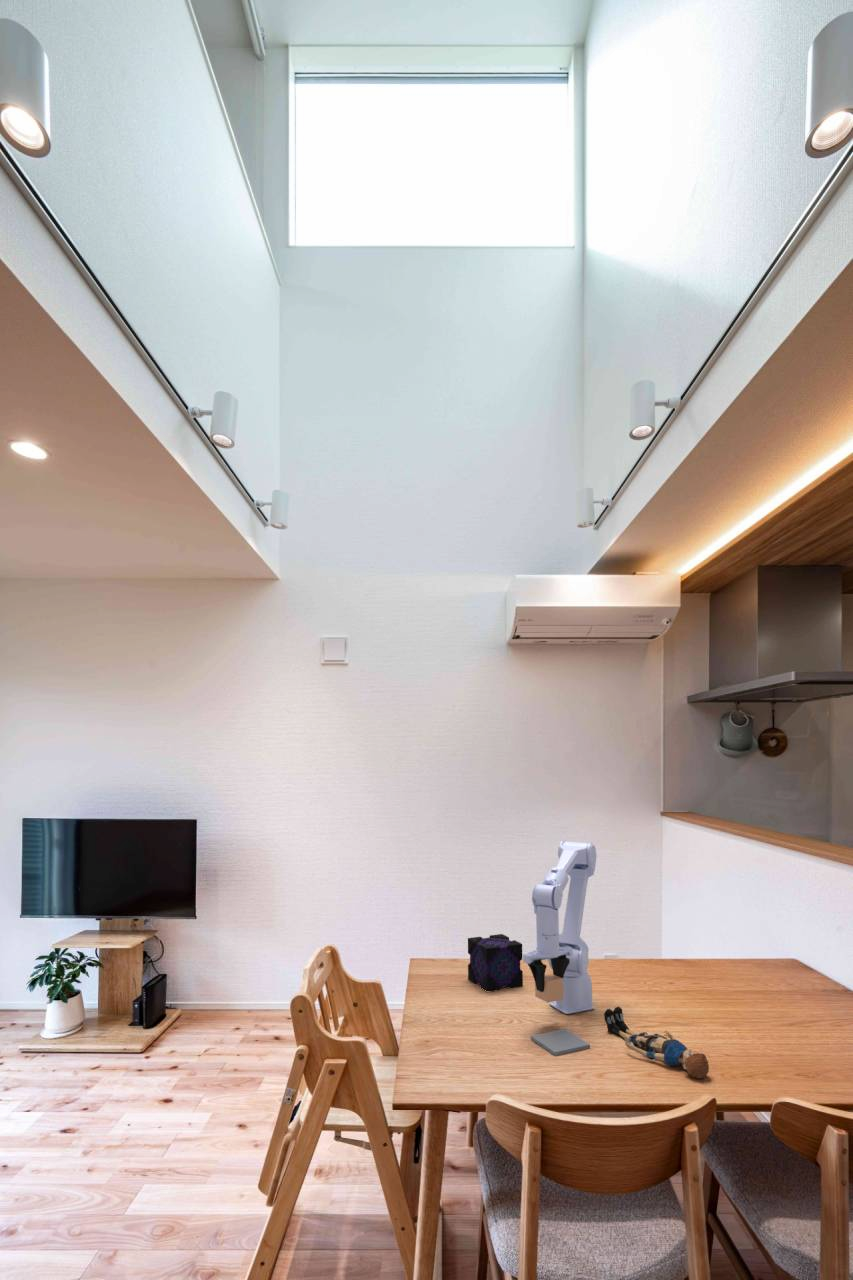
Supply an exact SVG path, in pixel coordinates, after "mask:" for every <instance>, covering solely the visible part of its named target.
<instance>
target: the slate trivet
mask: <svg viewBox="0 0 853 1280" xmlns="http://www.w3.org/2000/svg"><path fill="white" fill-rule="evenodd" d="M530 1040H531V1041H532V1042H534V1043H535V1044H536V1045H538V1046H540V1047H541V1048H543V1049H544V1050H546V1051H547V1052H548V1053H550V1054H551V1055H553V1056H555V1057H557V1056H560V1055H565V1054H570V1053H575V1052H579V1051H582V1050H583V1051H585V1050H588V1049H591V1044H590V1043H589V1042H587V1041H585V1040H583V1039H582V1038H580V1037H578V1036H577V1035H576V1034H574V1033H572V1032H570V1031H569V1030H567V1029H565V1028H564V1029H563V1028H562V1029H558V1030H553V1031H548V1032H544V1033H538V1034H534V1035H530Z"/></svg>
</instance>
